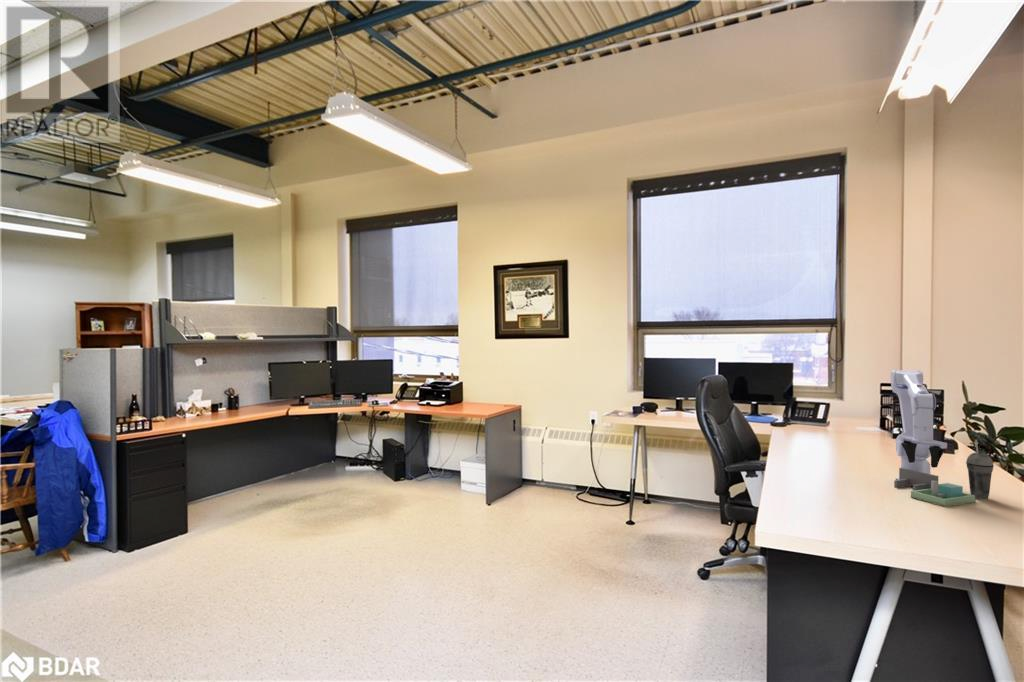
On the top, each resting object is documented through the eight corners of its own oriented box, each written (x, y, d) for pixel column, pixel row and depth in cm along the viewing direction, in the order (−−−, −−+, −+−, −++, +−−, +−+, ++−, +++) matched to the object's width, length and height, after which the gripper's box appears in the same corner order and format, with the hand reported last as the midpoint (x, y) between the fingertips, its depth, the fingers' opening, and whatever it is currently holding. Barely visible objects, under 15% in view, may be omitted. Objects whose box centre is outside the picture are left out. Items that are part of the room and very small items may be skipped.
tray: (940, 493, 186) (940, 487, 186) (975, 502, 176) (975, 495, 176) (910, 497, 181) (910, 491, 181) (944, 506, 171) (944, 499, 171)
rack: (900, 483, 199) (900, 467, 199) (938, 492, 187) (938, 475, 187) (886, 485, 197) (886, 469, 197) (923, 494, 184) (923, 477, 184)
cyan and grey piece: (947, 494, 183) (947, 477, 183) (962, 498, 179) (962, 480, 179) (925, 497, 179) (925, 479, 179) (940, 501, 175) (940, 483, 175)
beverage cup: (999, 501, 177) (999, 442, 177) (974, 500, 179) (974, 441, 179) (984, 495, 184) (984, 438, 184) (960, 493, 186) (961, 437, 186)
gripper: (894, 424, 195) (894, 461, 195) (937, 430, 181) (937, 470, 181) (907, 423, 197) (907, 459, 197) (951, 429, 184) (950, 468, 184)
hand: (922, 464), depth 189 cm, fingers open, 7 cm apart
